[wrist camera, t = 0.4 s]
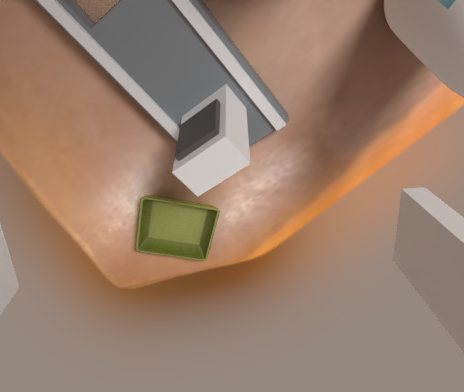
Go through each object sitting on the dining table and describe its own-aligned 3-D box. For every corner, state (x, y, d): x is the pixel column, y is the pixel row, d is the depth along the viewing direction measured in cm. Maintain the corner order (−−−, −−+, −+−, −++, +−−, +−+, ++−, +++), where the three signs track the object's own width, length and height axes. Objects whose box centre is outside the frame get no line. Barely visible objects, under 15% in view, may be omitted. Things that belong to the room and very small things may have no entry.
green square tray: (207, 249, 53) (206, 262, 51) (137, 239, 52) (134, 251, 50) (220, 197, 47) (220, 209, 46) (143, 184, 46) (140, 196, 45)
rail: (94, -139, 28) (40, -139, 20) (287, 113, 40) (302, 177, 32) (8, -38, 32) (-67, -3, 24) (207, 165, 44) (203, 234, 36)
